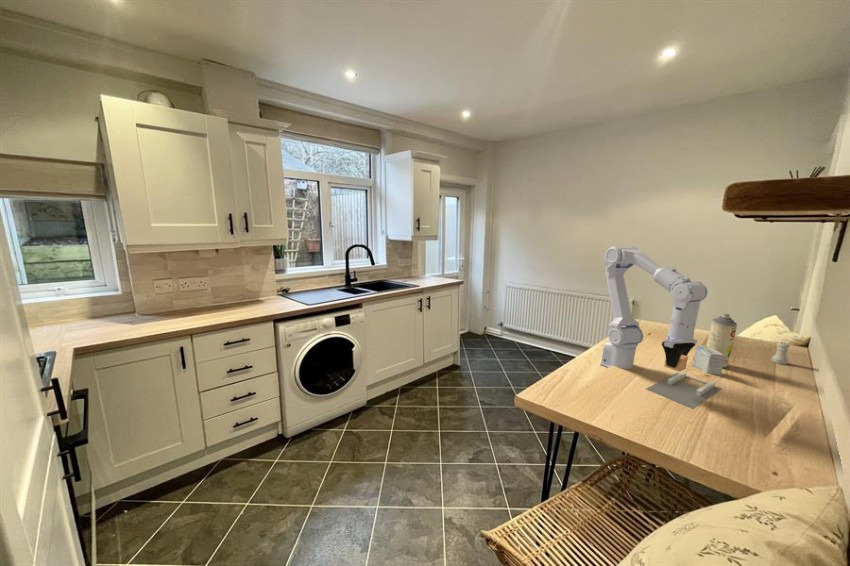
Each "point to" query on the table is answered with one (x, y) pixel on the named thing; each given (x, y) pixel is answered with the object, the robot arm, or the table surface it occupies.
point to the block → (679, 364)
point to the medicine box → (708, 360)
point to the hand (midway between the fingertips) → (674, 364)
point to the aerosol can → (722, 336)
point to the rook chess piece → (781, 354)
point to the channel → (684, 390)
